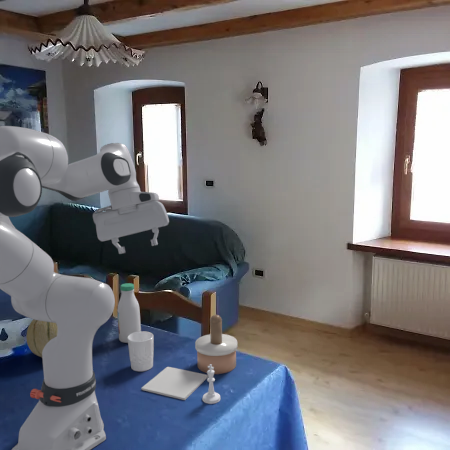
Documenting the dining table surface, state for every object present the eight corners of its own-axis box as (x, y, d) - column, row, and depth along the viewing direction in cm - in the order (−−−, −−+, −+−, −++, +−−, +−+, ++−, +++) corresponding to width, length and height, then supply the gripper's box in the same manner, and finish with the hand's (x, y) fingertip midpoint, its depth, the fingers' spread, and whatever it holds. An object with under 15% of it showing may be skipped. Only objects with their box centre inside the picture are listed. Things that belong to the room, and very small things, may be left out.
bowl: (226, 377, 142) (226, 358, 141) (190, 369, 147) (190, 351, 146) (242, 360, 153) (241, 342, 152) (208, 353, 158) (207, 336, 157)
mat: (184, 400, 130) (184, 398, 130) (141, 389, 136) (141, 387, 136) (208, 376, 143) (208, 375, 143) (167, 368, 149) (167, 366, 148)
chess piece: (214, 405, 127) (213, 370, 126) (198, 400, 130) (197, 366, 128) (224, 397, 131) (223, 363, 130) (209, 392, 134) (208, 358, 132)
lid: (226, 359, 141) (226, 325, 139) (187, 351, 146) (186, 319, 144) (243, 341, 152) (243, 310, 151) (207, 335, 158) (206, 305, 156)
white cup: (149, 373, 146) (148, 342, 144) (125, 371, 147) (123, 340, 145) (158, 361, 153) (157, 332, 151) (135, 360, 155) (133, 330, 153)
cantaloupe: (46, 370, 149) (42, 324, 146) (18, 359, 157) (14, 315, 154) (84, 352, 161) (81, 309, 158) (56, 342, 169) (53, 301, 166)
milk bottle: (145, 337, 172) (143, 283, 169) (130, 345, 166) (127, 289, 162) (129, 333, 176) (126, 280, 173) (114, 340, 170) (111, 286, 166)
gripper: (87, 210, 132) (99, 259, 132) (159, 191, 132) (171, 241, 131) (94, 210, 139) (106, 257, 139) (163, 193, 138) (175, 240, 138)
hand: (138, 249), depth 135 cm, fingers open, 8 cm apart
